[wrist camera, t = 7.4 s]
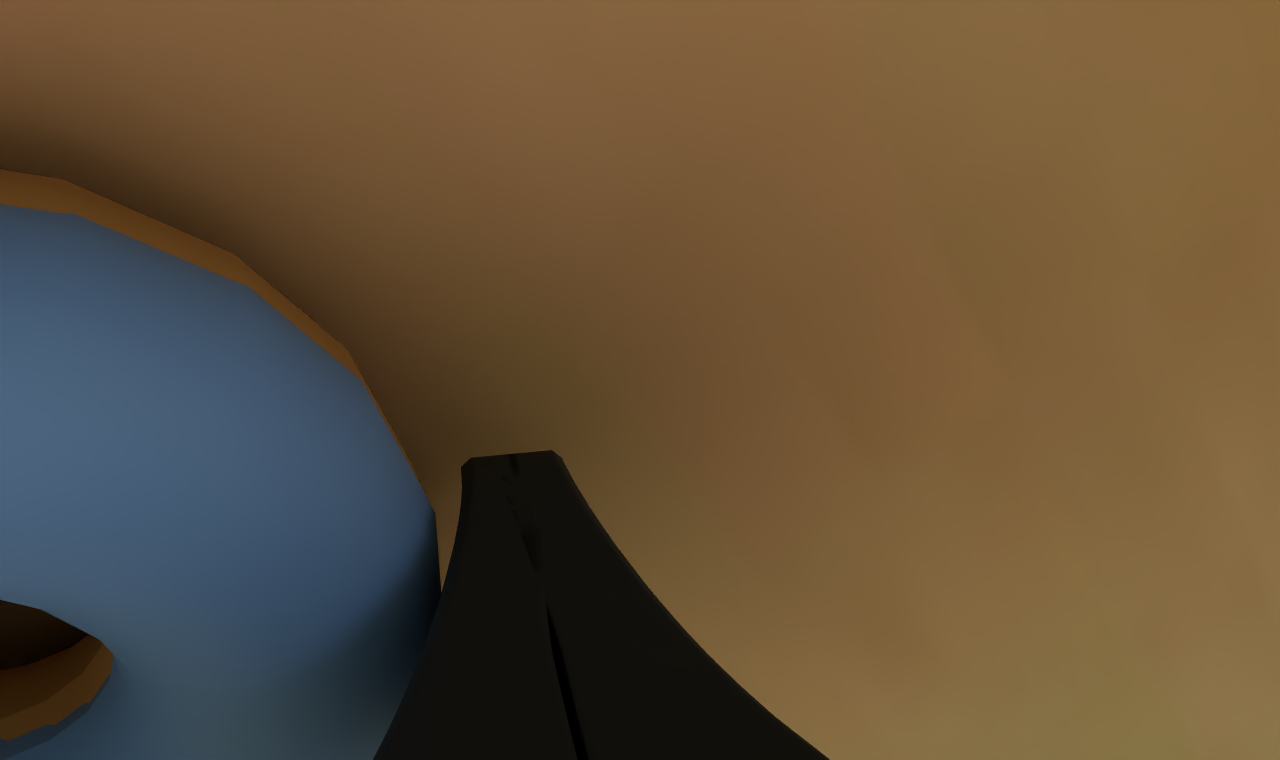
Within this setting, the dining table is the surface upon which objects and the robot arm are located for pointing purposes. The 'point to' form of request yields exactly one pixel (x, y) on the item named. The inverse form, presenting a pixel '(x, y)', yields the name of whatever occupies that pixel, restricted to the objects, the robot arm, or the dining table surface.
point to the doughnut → (193, 502)
